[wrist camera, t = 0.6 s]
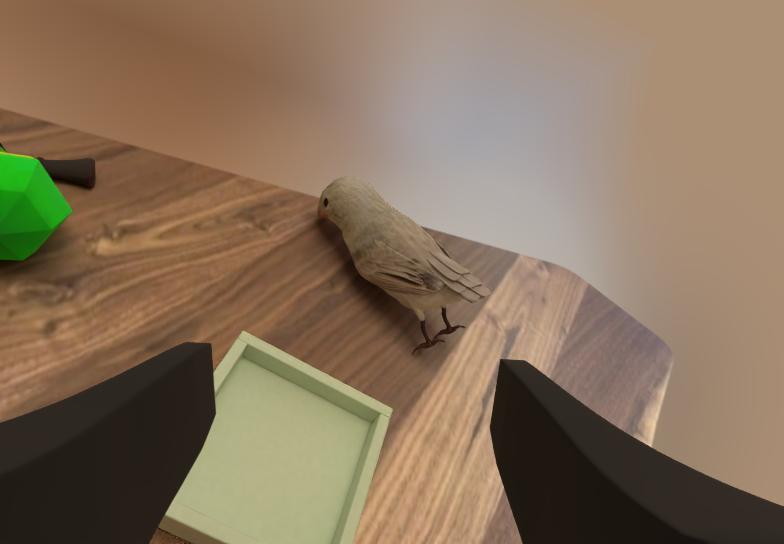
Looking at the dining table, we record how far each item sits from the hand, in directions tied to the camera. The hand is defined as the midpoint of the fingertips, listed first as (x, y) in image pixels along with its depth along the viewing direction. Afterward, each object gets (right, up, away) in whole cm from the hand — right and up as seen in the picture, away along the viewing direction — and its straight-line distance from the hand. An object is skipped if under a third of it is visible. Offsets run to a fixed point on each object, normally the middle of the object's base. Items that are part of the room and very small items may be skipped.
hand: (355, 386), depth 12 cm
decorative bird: (-1, +2, +28) cm, 28 cm away
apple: (-19, +5, +11) cm, 23 cm away
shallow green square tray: (-6, -8, +15) cm, 17 cm away
